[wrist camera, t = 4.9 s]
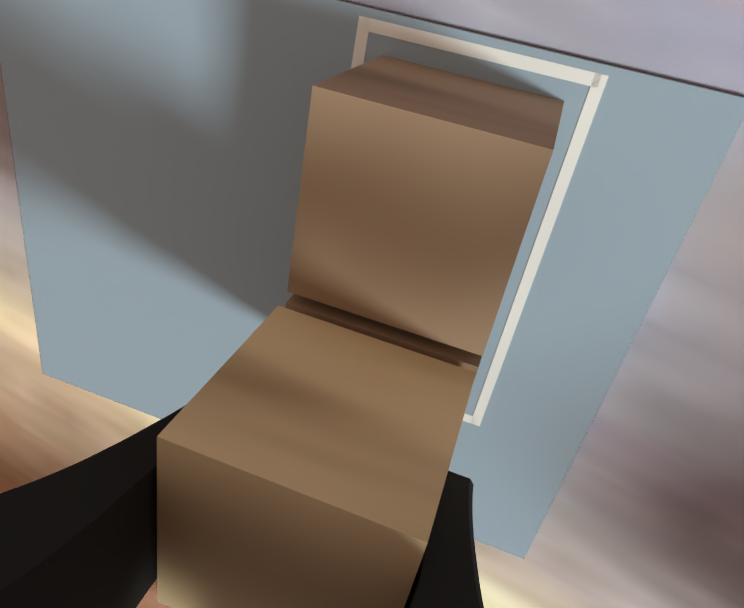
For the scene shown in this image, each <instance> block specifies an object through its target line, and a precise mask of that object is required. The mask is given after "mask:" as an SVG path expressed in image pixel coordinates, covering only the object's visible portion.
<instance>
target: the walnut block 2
mask: <svg viewBox="0 0 744 608" xmlns="http://www.w3.org/2000/svg"><path fill="white" fill-rule="evenodd" d="M285 308H287V309H290V310H293V311H296V312H299V313H302V314H305V315H308V316H311V317H314V318H317V319H320V320H323V321H326V322H329V323H332V324H334V325H337V326H340V327H343V328H346V329H349V330H352V331H355V332H358V333H361V334H364V335H367V336H370V337H373V338H376V339H379V340H382V341H385V342H388V343H391V344H393V345H396V346H399V347H402V348H405V349H408V350H411V351H414V352H417V353H420V354H423V355H426V356H429V357H432V358H435V359H438V360H441V361H444V362H447V363H450V364H453V365H455V366H458V367H461V368H464V369H467V370H470V371H473V372H476V374H477V371H478V368H479V365H480V361H481V358H482V356H480V355H477V354H474V353H471V352H468V351H465V350H462V349H459V348H456V347H453V346H450V345H447V344H444V343H441V342H438V341H435V340H432V339H429V338H426V337H423V336H420V335H417V334H414V333H411V332H408V331H405V330H402V329H399V328H396V327H393V326H390V325H387V324H384V323H381V322H378V321H375V320H372V319H369V318H366V317H363V316H360V315H357V314H354V313H351V312H348V311H345V310H342V309H339V308H336V307H333V306H330V305H327V304H324V303H321V302H317V301H314V300H311V299H308V298H305V297H302V296H299V295H296V294H293V295H292V296H291V297H290V299H289V300H288V301H287V302H286V305H285ZM475 377H476V375H475ZM474 380H475V378H474Z"/></svg>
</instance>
